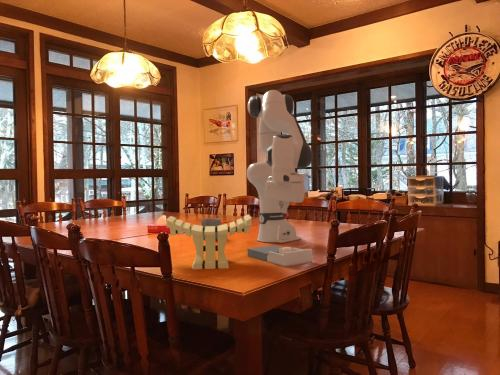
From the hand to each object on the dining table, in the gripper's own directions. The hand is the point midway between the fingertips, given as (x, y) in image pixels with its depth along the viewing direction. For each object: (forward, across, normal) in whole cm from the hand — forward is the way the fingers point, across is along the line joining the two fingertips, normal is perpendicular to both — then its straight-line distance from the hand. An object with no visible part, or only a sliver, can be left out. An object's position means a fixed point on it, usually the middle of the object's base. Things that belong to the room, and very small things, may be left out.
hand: (283, 212), depth 156 cm
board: (+19, -8, 0) cm, 20 cm away
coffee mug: (+20, -64, +4) cm, 67 cm away
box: (+18, +4, 0) cm, 19 cm away
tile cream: (+16, 0, 0) cm, 16 cm away
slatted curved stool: (+19, -11, -26) cm, 34 cm away
